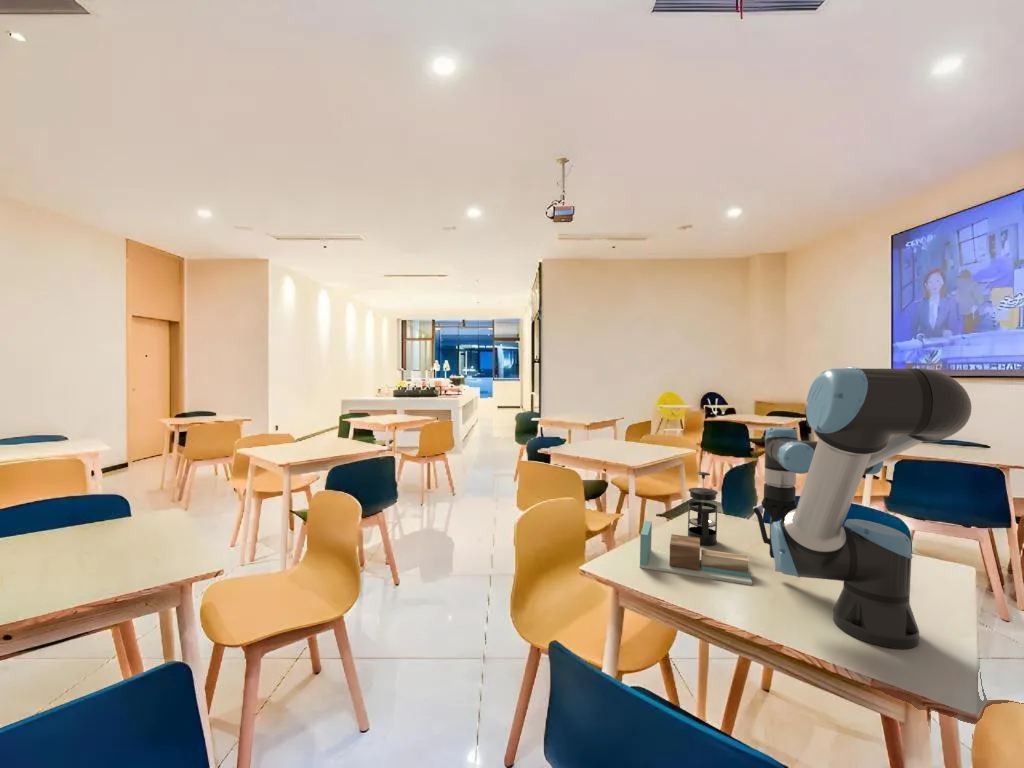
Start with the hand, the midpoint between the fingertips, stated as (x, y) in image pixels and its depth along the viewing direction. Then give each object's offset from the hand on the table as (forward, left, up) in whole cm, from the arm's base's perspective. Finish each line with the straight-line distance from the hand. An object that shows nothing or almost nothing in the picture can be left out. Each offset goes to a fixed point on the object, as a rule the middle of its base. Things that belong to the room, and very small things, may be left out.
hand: (777, 569), depth 130 cm
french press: (+23, +19, -3) cm, 30 cm away
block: (0, +24, -2) cm, 24 cm away
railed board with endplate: (0, +21, -3) cm, 21 cm away
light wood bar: (0, +13, -2) cm, 13 cm away
